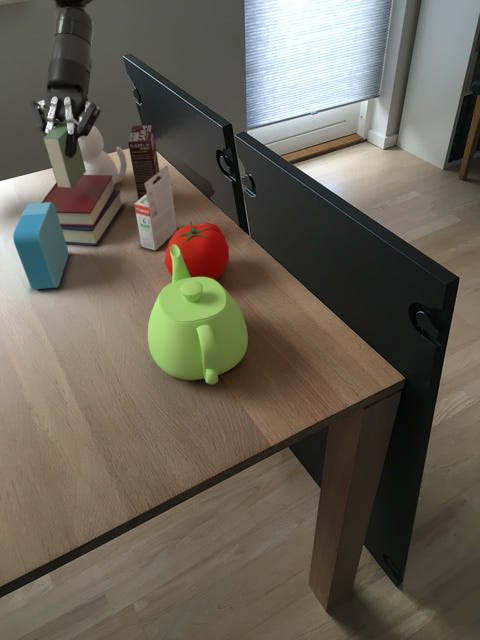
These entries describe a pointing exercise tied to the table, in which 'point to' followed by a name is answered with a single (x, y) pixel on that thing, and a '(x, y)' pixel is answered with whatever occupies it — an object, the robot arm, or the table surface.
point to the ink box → (156, 212)
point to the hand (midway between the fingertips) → (60, 155)
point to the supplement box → (143, 156)
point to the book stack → (86, 208)
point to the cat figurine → (100, 157)
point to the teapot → (195, 326)
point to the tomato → (200, 250)
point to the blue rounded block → (41, 245)
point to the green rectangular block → (63, 158)
